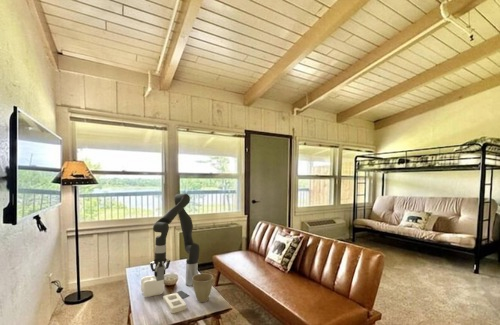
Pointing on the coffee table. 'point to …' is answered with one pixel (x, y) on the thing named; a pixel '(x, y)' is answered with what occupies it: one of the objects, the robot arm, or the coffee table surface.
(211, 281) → the plant pot
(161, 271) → the block
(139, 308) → the coffee table surface
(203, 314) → the coffee table surface
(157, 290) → the cable organizer
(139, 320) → the coffee table surface
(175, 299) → the outlet plate
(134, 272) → the coffee table surface
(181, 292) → the phone slab
